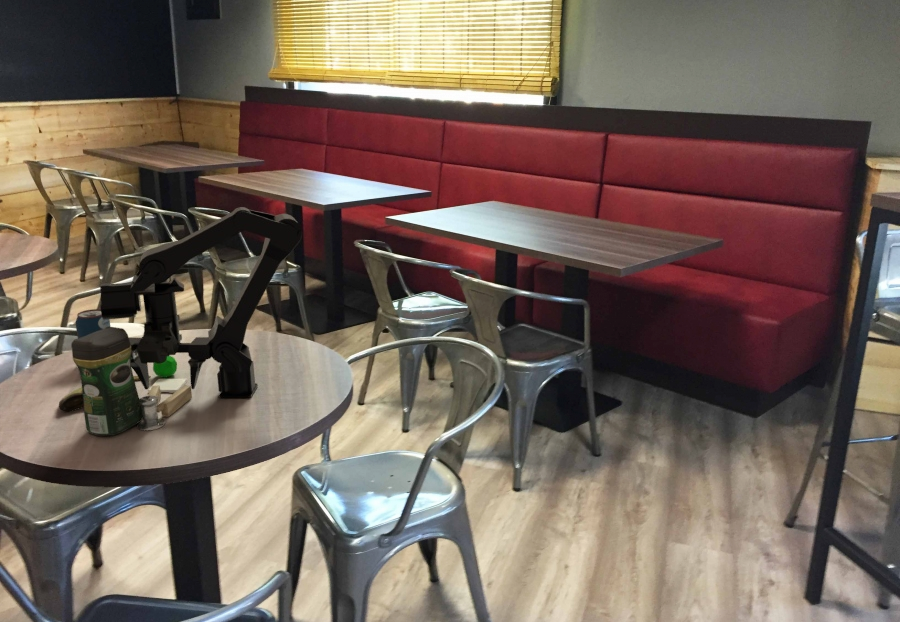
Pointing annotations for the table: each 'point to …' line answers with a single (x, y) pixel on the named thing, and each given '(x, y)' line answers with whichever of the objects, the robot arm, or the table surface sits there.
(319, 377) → the table surface
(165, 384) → the coaster
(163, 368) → the polyhedron
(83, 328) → the soda can
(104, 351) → the coffee jar
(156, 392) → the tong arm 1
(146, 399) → the grey spool
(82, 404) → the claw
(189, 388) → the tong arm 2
